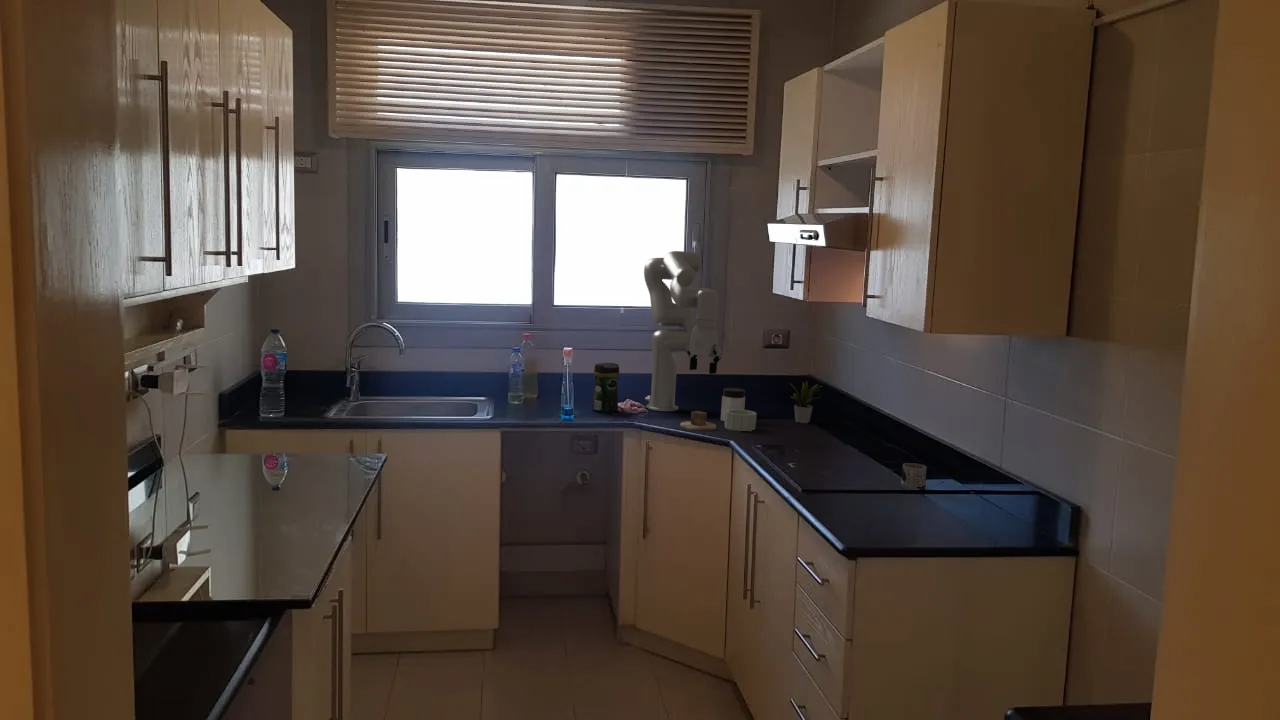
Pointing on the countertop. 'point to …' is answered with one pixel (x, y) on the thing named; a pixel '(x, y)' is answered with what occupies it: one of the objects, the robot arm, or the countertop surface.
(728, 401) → the jar
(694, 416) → the lid
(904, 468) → the mug
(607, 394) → the coffee jar
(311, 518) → the countertop surface
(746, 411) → the bowl
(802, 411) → the house plant
